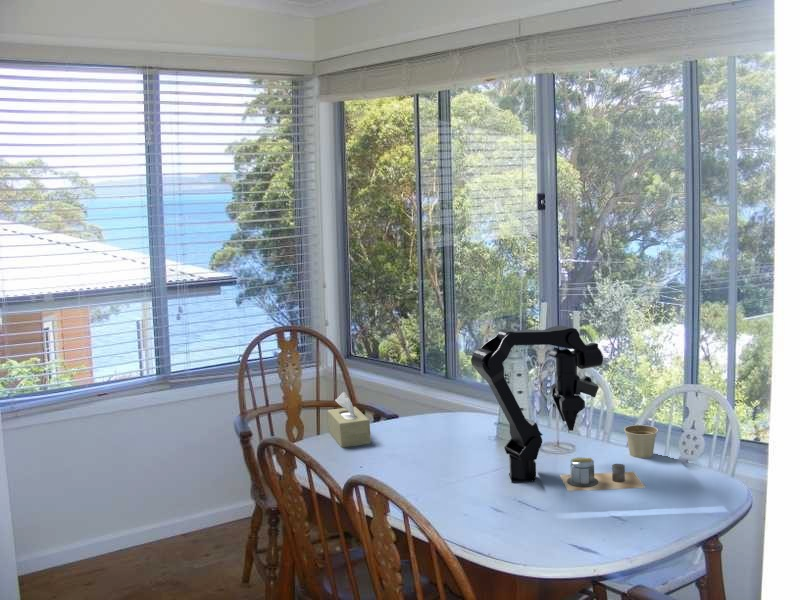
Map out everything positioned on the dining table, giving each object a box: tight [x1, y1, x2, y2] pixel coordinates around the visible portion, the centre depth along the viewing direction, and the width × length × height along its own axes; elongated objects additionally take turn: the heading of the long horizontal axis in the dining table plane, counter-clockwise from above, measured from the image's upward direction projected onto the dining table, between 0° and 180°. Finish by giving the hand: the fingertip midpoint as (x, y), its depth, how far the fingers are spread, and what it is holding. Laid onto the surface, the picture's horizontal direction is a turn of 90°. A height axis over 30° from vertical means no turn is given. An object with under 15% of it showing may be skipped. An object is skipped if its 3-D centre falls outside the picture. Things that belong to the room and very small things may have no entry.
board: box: [559, 463, 646, 492], centre depth 220 cm, size 20×12×5 cm, turn 89°
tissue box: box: [327, 391, 372, 448], centre depth 274 cm, size 19×10×16 cm, turn 17°
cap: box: [569, 457, 595, 485], centre depth 220 cm, size 6×6×6 cm
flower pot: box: [623, 424, 659, 459], centre depth 240 cm, size 9×9×9 cm
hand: (567, 425), depth 233 cm, fingers open, 9 cm apart
